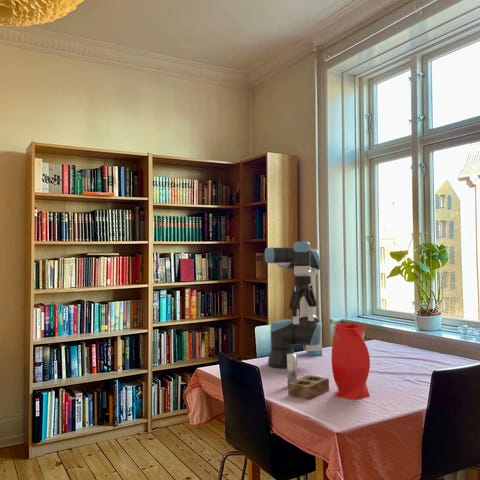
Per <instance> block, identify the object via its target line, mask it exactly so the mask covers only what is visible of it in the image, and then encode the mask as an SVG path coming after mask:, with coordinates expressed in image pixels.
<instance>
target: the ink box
mask: <svg viewBox="0 0 480 480" xmlns="http://www.w3.org/2000/svg"><path fill="white" fill-rule="evenodd" d="M322 339H323V337H322V334H321V340H320V343H319V344H318V345H311V346H310V345H305V353H306V352H307V353H306V354H308V355H317V356H323V342H322V341H323V340H322ZM308 355H307V356H308Z"/></svg>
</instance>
